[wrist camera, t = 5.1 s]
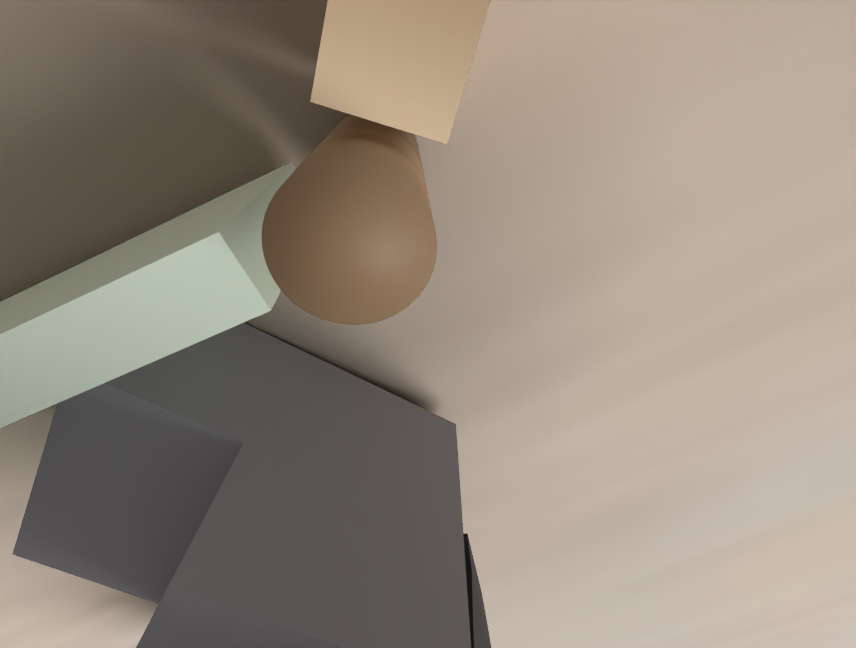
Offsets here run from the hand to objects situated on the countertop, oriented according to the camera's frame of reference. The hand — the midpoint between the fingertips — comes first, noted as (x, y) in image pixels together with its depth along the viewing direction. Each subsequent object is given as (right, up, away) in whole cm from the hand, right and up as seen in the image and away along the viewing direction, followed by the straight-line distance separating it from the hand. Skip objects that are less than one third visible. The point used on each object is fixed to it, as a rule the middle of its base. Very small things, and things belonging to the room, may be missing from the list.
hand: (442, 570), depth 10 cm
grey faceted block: (-3, +3, 0) cm, 4 cm away
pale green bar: (-7, +5, -2) cm, 9 cm away
